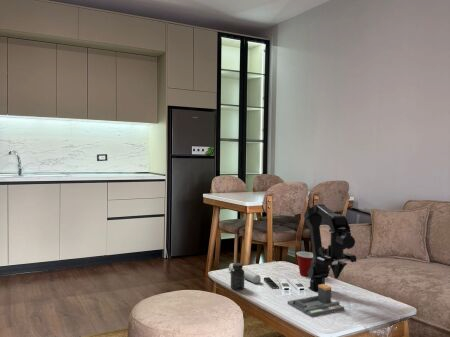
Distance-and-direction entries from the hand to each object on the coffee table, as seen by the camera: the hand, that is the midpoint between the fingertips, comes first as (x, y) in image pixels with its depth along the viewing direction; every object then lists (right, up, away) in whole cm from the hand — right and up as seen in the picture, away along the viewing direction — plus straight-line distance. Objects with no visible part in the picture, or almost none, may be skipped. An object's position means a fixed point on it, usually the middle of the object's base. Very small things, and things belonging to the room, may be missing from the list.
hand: (336, 278), depth 184 cm
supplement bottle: (-44, -10, +19) cm, 48 cm away
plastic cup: (-5, -10, +43) cm, 44 cm away
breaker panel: (-10, -11, -5) cm, 16 cm away
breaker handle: (-6, -10, -3) cm, 12 cm away
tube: (-39, -10, +37) cm, 55 cm away
